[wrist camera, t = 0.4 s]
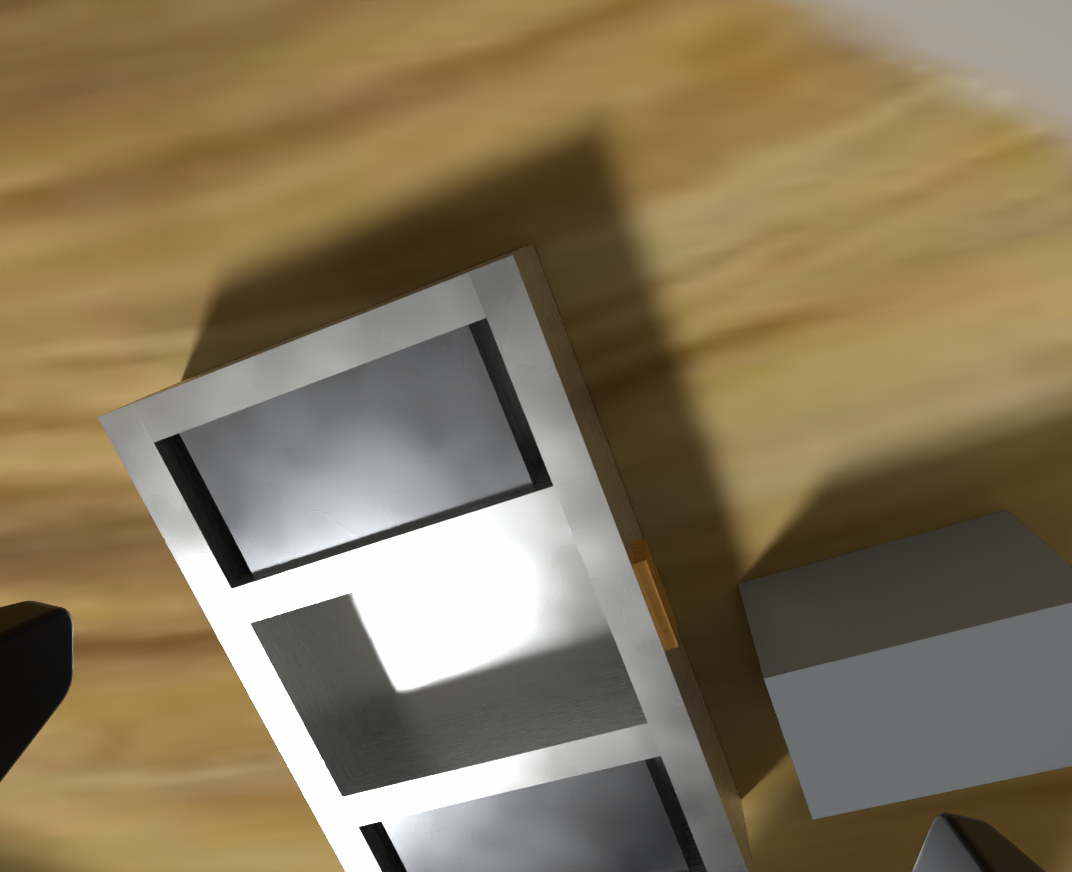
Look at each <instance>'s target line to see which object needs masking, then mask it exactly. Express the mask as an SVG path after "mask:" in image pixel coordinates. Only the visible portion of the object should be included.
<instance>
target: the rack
mask: <svg viewBox="0 0 1072 872" xmlns="http://www.w3.org/2000/svg"><path fill="white" fill-rule="evenodd" d="M98 419H99V420H100V422H101V424H102V426H103V428H104V430H105V431H106V433H107V435H108V437H109V439H110V441H111V442H112V444H113V446H114V448H115V450H116V452H117V453H118V455H119V457H120V459H121V461H122V463H123V464H124V466H125V468H126V470H127V472H128V474H129V475H130V477H131V479H132V481H133V483H134V485H135V486H136V488H137V490H138V492H139V494H140V496H141V497H142V499H143V501H144V503H145V505H146V507H147V508H148V510H149V512H150V514H151V516H152V518H153V519H154V521H155V523H156V525H157V527H158V528H159V530H160V532H161V534H162V536H163V538H164V539H165V541H166V543H167V545H168V547H169V549H170V550H171V552H172V554H173V556H174V558H175V560H176V561H177V563H178V565H179V567H180V569H181V571H182V572H183V574H184V576H185V578H186V580H187V582H188V583H189V585H190V587H191V589H192V591H193V593H194V594H195V596H196V598H197V600H198V602H199V604H200V605H201V607H202V609H203V611H204V613H205V615H206V616H207V618H208V620H209V622H210V624H211V626H212V627H213V629H214V631H215V633H216V635H217V636H218V638H219V640H220V642H221V644H222V646H223V647H224V649H225V651H226V653H227V655H228V657H229V658H230V660H231V662H232V664H233V666H234V668H235V669H236V671H237V673H238V675H239V677H240V679H241V680H242V682H243V684H244V686H245V688H246V690H247V691H248V693H249V695H250V697H251V699H252V701H253V702H254V704H255V706H256V708H257V710H258V712H259V713H260V715H261V717H262V719H263V721H264V723H265V724H266V726H267V728H268V730H269V732H270V734H271V735H272V737H273V739H274V741H275V743H276V745H277V746H278V748H279V750H280V752H281V754H282V755H283V757H284V759H285V761H286V763H287V765H288V766H289V768H290V770H291V772H292V774H293V776H294V777H295V779H296V781H297V783H298V785H299V787H300V788H301V790H302V792H303V794H304V796H305V798H306V799H307V801H308V803H309V805H310V807H311V809H312V810H313V812H314V814H315V816H316V818H317V820H318V821H319V823H320V825H321V827H322V829H323V831H324V832H325V834H326V836H327V838H328V840H329V842H330V843H331V845H332V847H333V849H334V851H335V853H336V854H337V856H338V858H339V860H340V862H341V863H342V865H343V867H344V869H345V871H346V872H754V868H753V862H752V857H751V851H750V846H749V840H748V835H747V829H746V824H745V818H744V812H743V807H742V801H741V799H740V796H739V793H738V791H737V788H736V785H735V783H734V780H733V777H732V774H731V772H730V769H729V766H728V764H727V761H726V758H725V756H724V753H723V750H722V748H721V745H720V742H719V740H718V737H717V734H716V732H715V729H714V726H713V724H712V721H711V718H710V716H709V713H708V710H707V708H706V705H705V702H704V699H703V697H702V694H701V691H700V689H699V686H698V683H697V681H696V678H695V675H694V673H693V670H692V667H691V665H690V662H689V659H688V657H687V654H686V651H685V649H684V646H683V643H682V641H681V638H680V635H679V633H678V630H677V627H676V620H675V617H674V614H673V612H672V609H671V606H670V604H669V601H668V598H667V596H666V593H665V590H664V588H663V585H662V582H661V580H660V577H659V574H658V571H657V569H656V566H655V563H654V561H653V558H652V555H651V553H650V550H649V547H648V545H647V542H646V539H643V536H642V533H641V531H640V528H639V525H638V523H637V520H636V517H635V515H634V512H633V509H632V507H631V504H630V501H629V499H628V496H627V493H626V491H625V488H624V485H623V483H622V480H621V477H620V475H619V472H618V469H617V467H616V464H615V461H614V458H613V456H612V453H611V450H610V448H609V445H608V442H607V440H606V437H605V434H604V432H603V429H602V426H601V424H600V421H599V418H598V416H597V413H596V410H595V408H594V405H593V402H592V400H591V397H590V394H589V392H588V389H587V386H586V383H585V381H584V378H583V375H582V373H581V370H580V367H579V365H578V362H577V359H576V357H575V354H574V351H573V349H572V346H571V343H570V341H569V338H568V335H567V333H566V330H565V327H564V325H563V322H562V319H561V317H560V314H559V311H558V309H557V306H556V303H555V300H554V298H553V295H552V292H551V290H550V287H549V284H548V282H547V279H546V276H545V274H544V271H543V268H542V266H541V263H540V260H539V258H538V255H537V252H536V250H535V247H534V244H533V243H532V244H530V245H527V246H525V247H522V248H520V249H517V250H515V251H512V252H509V253H507V254H504V255H502V256H499V257H497V258H494V259H492V260H489V261H487V262H484V263H481V264H479V265H476V266H474V267H471V268H469V269H466V270H464V271H461V272H458V273H456V274H453V275H451V276H448V277H446V278H443V279H441V280H438V281H436V282H433V283H430V284H428V285H425V286H423V287H420V288H418V289H415V290H413V291H410V292H407V293H405V294H402V295H400V296H397V297H395V298H392V299H390V300H387V301H385V302H382V303H379V304H377V305H374V306H372V307H369V308H367V309H364V310H362V311H359V312H356V313H354V314H351V315H349V316H346V317H344V318H341V319H339V320H336V321H334V322H331V323H328V324H326V325H323V326H321V327H318V328H316V329H313V330H311V331H308V332H306V333H303V334H300V335H298V336H295V337H293V338H290V339H288V340H285V341H283V342H280V343H277V344H275V345H272V346H270V347H267V348H265V349H262V350H260V351H257V352H255V353H252V354H249V355H247V356H244V357H242V358H239V359H237V360H234V361H232V362H229V363H226V364H224V365H221V366H219V367H216V368H214V369H211V370H209V371H206V372H204V373H201V374H198V375H196V376H193V377H191V378H188V379H186V380H183V381H181V382H178V383H176V384H174V385H171V386H169V387H167V388H164V389H162V390H160V391H157V392H155V393H153V394H150V395H148V396H146V397H144V398H141V399H139V400H137V401H134V402H132V403H130V404H127V405H125V406H123V407H120V408H118V409H116V410H114V411H111V412H109V413H107V414H104V415H102V416H100V417H98Z"/></svg>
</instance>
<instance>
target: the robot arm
mask: <svg viewBox="0 0 1072 872" xmlns="http://www.w3.org/2000/svg"><path fill="white" fill-rule="evenodd" d="M72 676H73V622H72V617H71V615H70V613H69V612H68V611H67V610H66V609H64V608H62V607H58V606H53V605H49V604H45V603H41V602H36V601H24V602H20V603H16V604H12V605H8V606H4V607H0V782H1V781H2V779H3V778H4V777H5V775H6V774H7V773H8V771H9V770H10V769H11V768H12V766H13V765H14V764H15V762H16V761H17V760H18V758H19V757H20V756H21V755H22V753H23V752H24V751H25V749H26V748H27V747H28V745H29V744H30V743H31V742H32V740H33V739H34V738H35V736H36V735H37V734H38V732H39V731H40V730H41V729H42V727H43V726H44V725H45V723H46V722H47V721H48V719H49V718H50V717H51V716H52V714H53V713H54V712H55V710H56V709H57V708H58V706H59V705H60V704H61V702H62V701H63V699H64V698H65V696H66V694H67V692H68V690H69V688H70V685H71V681H72ZM912 872H1045V871H1044V870H1043V869H1042V868H1040V867H1039V866H1038V865H1037V864H1036V863H1034V862H1033V861H1032V860H1031V859H1030V858H1029V857H1027V856H1026V855H1025V854H1024V853H1023V852H1022V851H1020V850H1019V849H1018V848H1017V847H1016V846H1014V845H1013V844H1012V843H1011V842H1010V841H1009V840H1007V839H1006V838H1005V837H1004V836H1003V835H1001V834H1000V833H999V832H998V831H997V830H996V829H994V828H993V827H992V826H991V825H989V824H988V823H986V822H984V821H982V820H978V819H974V818H970V817H965V816H961V815H956V814H952V813H942V814H940V815H938V816H937V817H936V818H935V819H934V821H933V823H932V825H931V827H930V829H929V832H928V834H927V837H926V839H925V841H924V844H923V846H922V849H921V851H920V854H919V856H918V858H917V861H916V863H915V866H914V868H913V871H912Z"/></svg>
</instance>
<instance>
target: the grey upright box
mask: <svg viewBox="0 0 1072 872" xmlns="http://www.w3.org/2000/svg"><path fill="white" fill-rule="evenodd" d="M738 586H739V590H740V593H741V597H742V601H743V604H744V608H745V612H746V615H747V619H748V623H749V626H750V630H751V634H752V637H753V641H754V645H755V648H756V652H757V656H758V659H759V663H760V667H761V670H762V674H763V678H764V681H765V684H766V687H767V689H768V692H769V695H770V698H771V701H772V704H773V707H774V710H775V713H776V715H777V718H778V721H779V724H780V727H781V730H782V733H783V736H784V739H785V741H786V744H787V747H788V750H789V753H790V756H791V759H792V762H793V764H794V767H795V770H796V773H797V776H798V779H799V782H800V785H801V788H802V790H803V793H804V796H805V799H806V802H807V805H808V808H809V811H810V814H811V816H812V819H813V820H814V819H818V818H823V817H828V816H833V815H838V814H843V813H847V812H852V811H857V810H862V809H867V808H872V807H877V806H881V805H886V804H891V803H896V802H901V801H906V800H910V799H915V798H920V797H925V796H930V795H935V794H939V793H944V792H949V791H954V790H959V789H964V788H969V787H973V786H978V785H983V784H988V783H993V782H998V781H1002V780H1007V779H1012V778H1017V777H1022V776H1027V775H1031V774H1036V773H1041V772H1046V771H1051V770H1056V769H1061V768H1065V767H1070V766H1072V566H1071V565H1070V564H1069V563H1068V562H1067V561H1066V560H1064V559H1063V558H1062V557H1061V556H1060V555H1059V554H1057V553H1056V552H1055V551H1054V550H1053V549H1052V548H1050V547H1049V546H1048V545H1047V544H1046V543H1045V542H1043V541H1042V540H1041V539H1040V538H1039V537H1038V536H1036V535H1035V534H1034V533H1033V532H1032V531H1031V530H1029V529H1028V528H1027V527H1026V526H1025V525H1024V524H1022V523H1021V522H1020V521H1019V520H1018V519H1017V518H1015V517H1014V516H1013V515H1012V514H1011V513H1010V512H1008V511H1007V510H1004V511H1001V512H997V513H993V514H990V515H986V516H983V517H979V518H975V519H972V520H968V521H964V522H961V523H957V524H954V525H950V526H946V527H943V528H939V529H935V530H932V531H928V532H924V533H921V534H917V535H914V536H910V537H906V538H903V539H899V540H895V541H892V542H888V543H884V544H881V545H877V546H874V547H870V548H866V549H863V550H859V551H855V552H852V553H848V554H845V555H841V556H837V557H834V558H830V559H826V560H823V561H819V562H815V563H812V564H808V565H805V566H801V567H797V568H794V569H790V570H786V571H783V572H779V573H775V574H772V575H768V576H765V577H761V578H757V579H754V580H750V581H746V582H743V583H739V584H738Z"/></svg>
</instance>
